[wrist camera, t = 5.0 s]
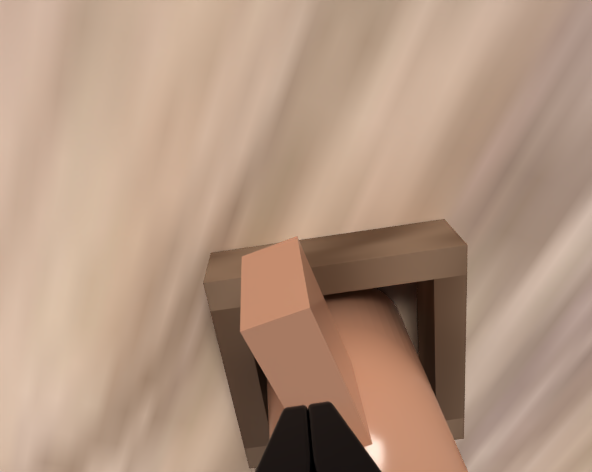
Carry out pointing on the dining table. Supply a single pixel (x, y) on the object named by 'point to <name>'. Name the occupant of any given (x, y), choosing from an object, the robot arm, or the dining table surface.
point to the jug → (342, 360)
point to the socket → (350, 277)
